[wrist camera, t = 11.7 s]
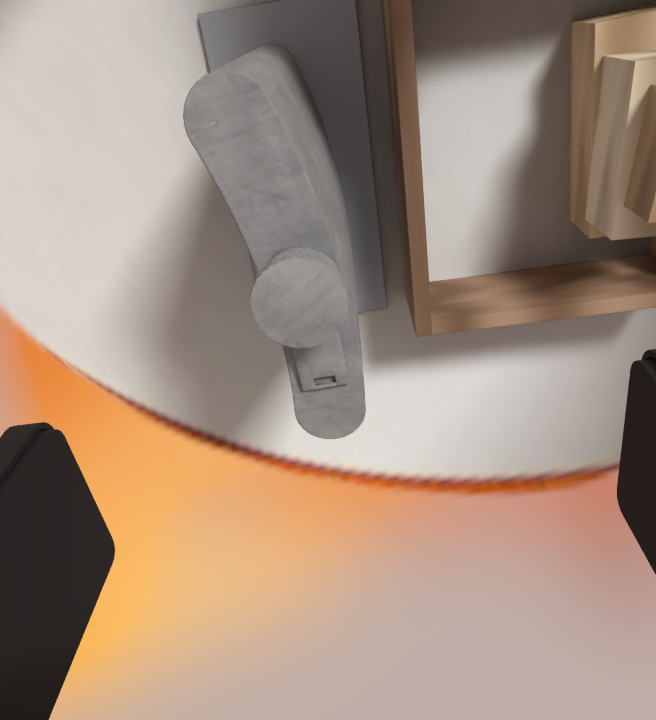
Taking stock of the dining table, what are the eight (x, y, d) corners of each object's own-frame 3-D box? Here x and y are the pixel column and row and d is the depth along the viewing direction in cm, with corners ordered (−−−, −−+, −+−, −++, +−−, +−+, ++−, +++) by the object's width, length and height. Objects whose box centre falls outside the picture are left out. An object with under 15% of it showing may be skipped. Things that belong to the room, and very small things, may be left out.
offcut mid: (698, 45, 32) (742, 49, 29) (668, 210, 37) (703, 231, 33) (603, 55, 33) (635, 61, 29) (585, 218, 37) (610, 240, 34)
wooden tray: (716, -106, 32) (790, -128, 27) (663, 265, 42) (709, 300, 37) (377, -48, 33) (386, -58, 28) (406, 297, 44) (416, 336, 39)
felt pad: (353, -12, 34) (354, -12, 34) (386, 306, 44) (386, 308, 44) (199, 14, 35) (197, 14, 35) (265, 321, 45) (264, 324, 45)
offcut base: (658, 2, 35) (694, 2, 31) (644, 206, 41) (673, 224, 37) (569, 21, 35) (595, 23, 32) (568, 220, 41) (590, 239, 38)
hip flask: (237, 53, 36) (149, 95, 18) (303, 32, 35) (276, 54, 18) (315, 293, 43) (304, 482, 26) (370, 278, 43) (397, 462, 25)
